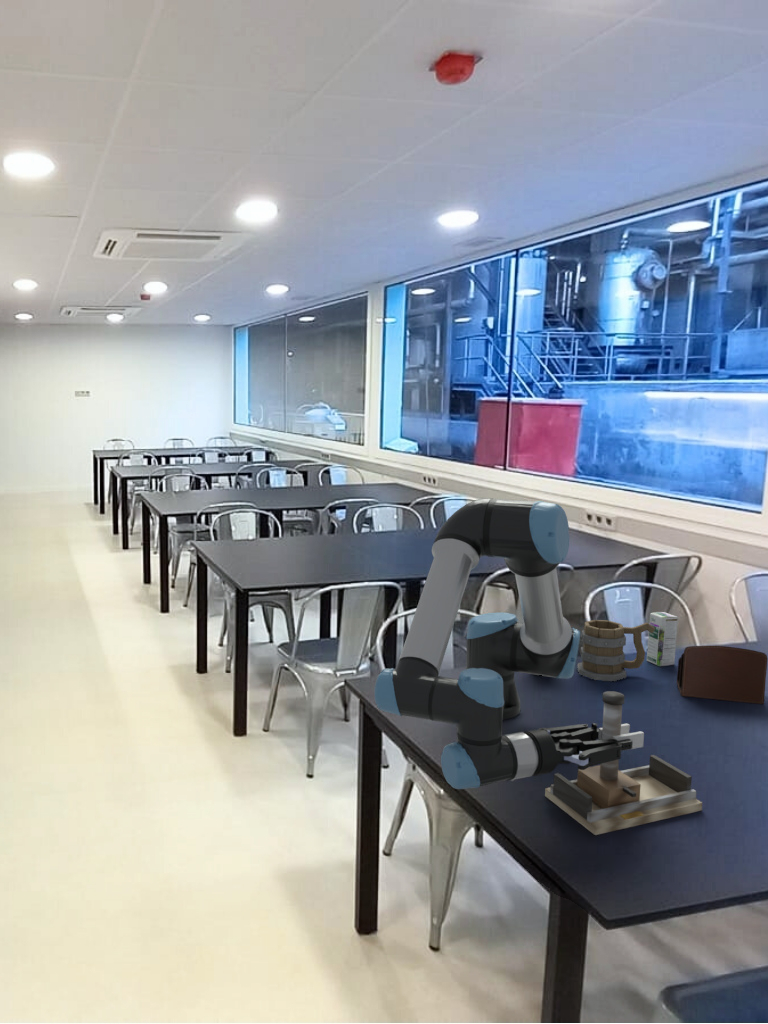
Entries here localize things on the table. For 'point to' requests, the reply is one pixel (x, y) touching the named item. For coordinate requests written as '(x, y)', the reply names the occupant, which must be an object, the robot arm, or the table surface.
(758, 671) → the letter holder
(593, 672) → the tankard
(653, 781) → the press bed
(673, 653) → the syrup box
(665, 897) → the table surface
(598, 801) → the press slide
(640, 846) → the table surface
